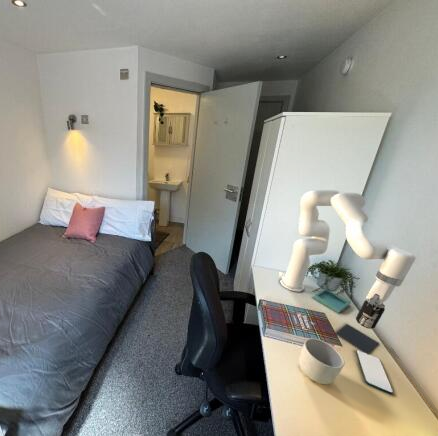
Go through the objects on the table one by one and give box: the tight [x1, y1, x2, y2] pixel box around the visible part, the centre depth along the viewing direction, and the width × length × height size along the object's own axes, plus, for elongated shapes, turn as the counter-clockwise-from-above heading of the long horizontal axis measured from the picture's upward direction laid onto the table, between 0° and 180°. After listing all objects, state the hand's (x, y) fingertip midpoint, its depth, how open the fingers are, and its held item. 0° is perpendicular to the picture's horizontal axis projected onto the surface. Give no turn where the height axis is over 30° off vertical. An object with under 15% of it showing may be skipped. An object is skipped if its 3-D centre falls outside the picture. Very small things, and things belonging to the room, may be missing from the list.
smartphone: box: [355, 349, 394, 395], centre depth 91 cm, size 8×1×16 cm
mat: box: [335, 323, 379, 355], centre depth 106 cm, size 12×12×1 cm
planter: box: [298, 337, 346, 385], centre depth 88 cm, size 12×12×11 cm
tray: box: [313, 288, 352, 314], centre depth 129 cm, size 13×13×2 cm
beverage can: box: [355, 298, 386, 330], centre depth 101 cm, size 7×7×12 cm
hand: (371, 311), depth 100 cm, fingers closed on beverage can, 6 cm apart
